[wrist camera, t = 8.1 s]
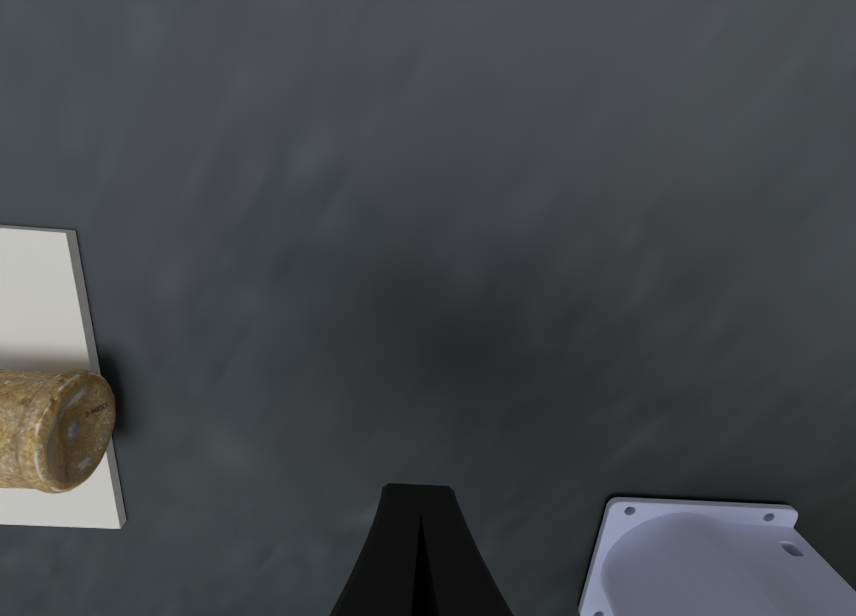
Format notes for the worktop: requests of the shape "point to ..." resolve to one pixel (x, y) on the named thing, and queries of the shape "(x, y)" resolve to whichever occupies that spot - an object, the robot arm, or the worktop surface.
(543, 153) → the worktop surface
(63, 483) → the sprinkles bottle
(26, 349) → the mat
